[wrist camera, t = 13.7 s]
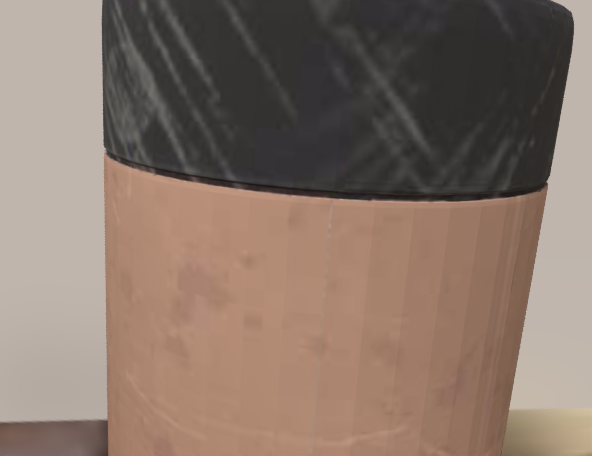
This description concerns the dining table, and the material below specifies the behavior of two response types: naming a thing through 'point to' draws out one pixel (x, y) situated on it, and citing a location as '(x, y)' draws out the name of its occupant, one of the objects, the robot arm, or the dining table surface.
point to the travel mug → (323, 220)
